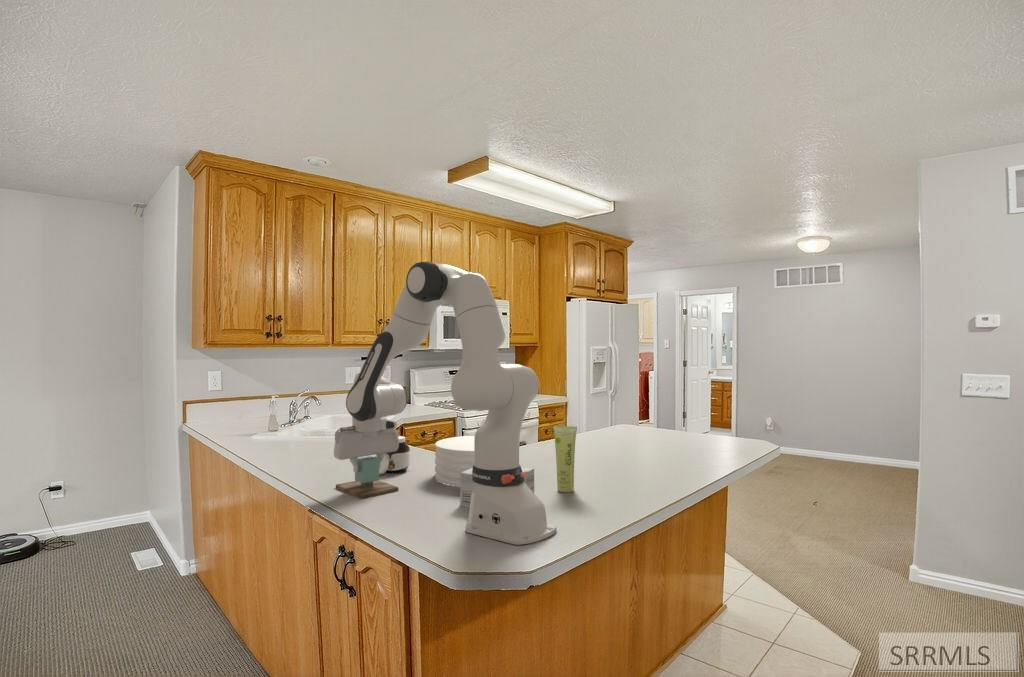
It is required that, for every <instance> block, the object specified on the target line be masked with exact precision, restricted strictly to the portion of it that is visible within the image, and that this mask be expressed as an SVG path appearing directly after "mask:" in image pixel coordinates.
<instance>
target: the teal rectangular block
mask: <svg viewBox="0 0 1024 677" xmlns="http://www.w3.org/2000/svg"><path fill="white" fill-rule="evenodd" d="M356 463H357V465H359V466H361V472H356V473H355V472H354V481H358V482H361V483H368V482H373V481H378V480H379V481H380V475H379V458H376V457H375V456H373V455H369V456H363V457H358V461H356Z"/></svg>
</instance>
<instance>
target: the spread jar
mask: <svg viewBox="0 0 1024 677" xmlns="http://www.w3.org/2000/svg"><path fill="white" fill-rule="evenodd" d="M398 439H399V447H398V449H397V451H394V452H388V453H384V457H383V459H382V461H381V463H380V468H379V476H381V475H384V474H385V473H387V474H400V473H404V472H406V471H407V470H408V468H409V467H410V465H411V464H410V463H411V450H410V449H411V448H410V446H409V444H407V443H406V437H405V436H403V435H398ZM374 457H376V458H377V457H378V456H376V455H374Z"/></svg>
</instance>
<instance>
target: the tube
mask: <svg viewBox="0 0 1024 677" xmlns="http://www.w3.org/2000/svg"><path fill="white" fill-rule="evenodd" d="M552 429H553V435H554V436H553V437H554V447H555V448H554V449H555V458H556V486H557V491H558V492H561V493H572V492H574V490H575V453H576V452H575V451H576V437H577V431H578V430H577V429H578V427H577V426H570V425H569V426H568V425H553V426H552Z"/></svg>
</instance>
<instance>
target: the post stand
mask: <svg viewBox="0 0 1024 677" xmlns="http://www.w3.org/2000/svg"><path fill="white" fill-rule="evenodd" d="M335 488H336V489H338V490H340V491H342V492H345V493H347V494H350V495H352V496H354V497H357V498H360V499H366V498H372V497H377V496H381V495H384V494H389V493H393V492H398V491H399V487H398V486H395V485H393V484H390V483H388V482H385V481H382V480H380V479H379V480H378V481H373V482H368V483H361V482H358V481H355V480H353V481H347V482H343V483H339V484H335Z"/></svg>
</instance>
